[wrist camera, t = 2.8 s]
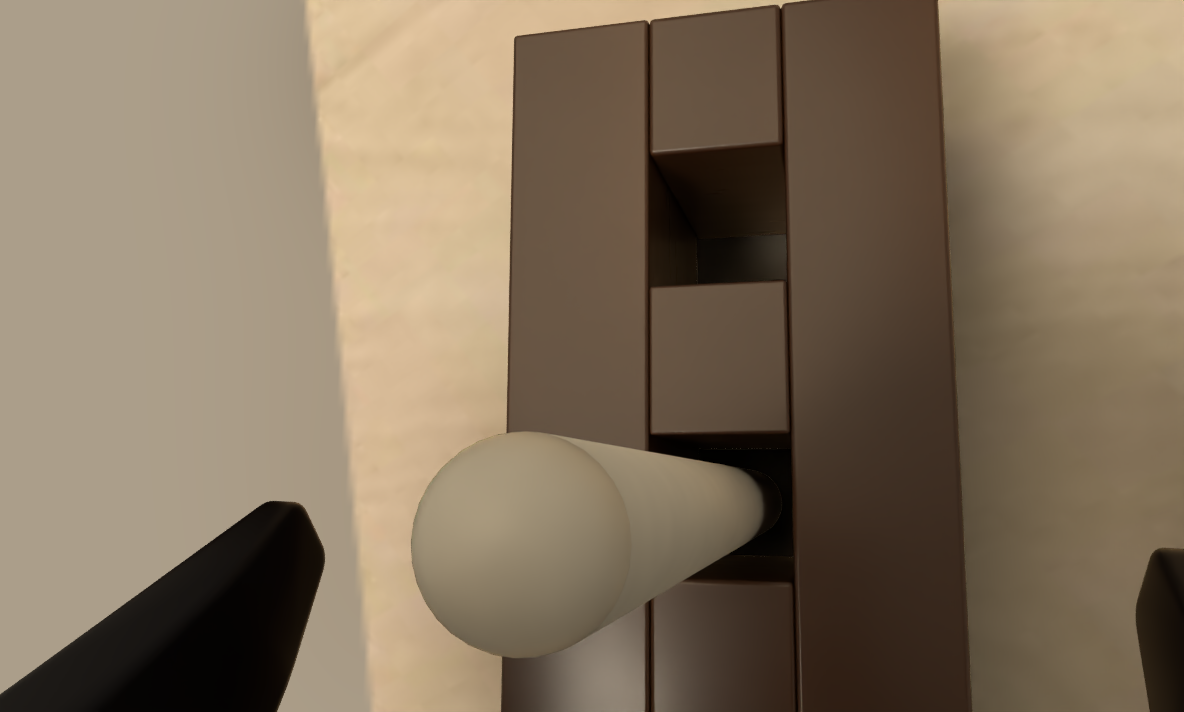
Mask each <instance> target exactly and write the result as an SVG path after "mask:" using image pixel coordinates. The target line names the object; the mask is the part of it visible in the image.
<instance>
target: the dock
mask: <svg viewBox="0 0 1184 712" xmlns="http://www.w3.org/2000/svg"><path fill="white" fill-rule="evenodd" d="M774 234H786V249H787V282H786V281H785V280H769V281H749V282H729V283H708V284H697V237H698V238H700V239H709V238H725V237H742V236H758V235H774ZM524 431H527V432H540V433H546V434H552V435H557V436H563V437H569V438H574V439H580V440H586V441H591V442H597V443H603V444H608V445H614V446H620V447H625V448H631V449H637V450H642V451H648V452H653V453H659V454H665V455H670V456H676V457H682V458H687V459H693V460H699V449H791V466H792V510H793V553H794V557H788V556H747V555H725V556H724V557H722V558H720V559H719V560H717V561H715V562H713V563H712V564H710V565H708V566H707V567H705V568H703V569H702V570H700V571H698V572H697V573H695V574H693V575H691V576H690V577H688V578H686V579H685V580H683V581H681V582H680V583H678V584H676V585H675V586H673V587H671V588H670V589H668V590H666V591H664V592H663V593H661V594H659V595H658V596H656V597H654V598H653V599H651V600H649V601H648V602H646V603H644V604H643V605H641V606H639V607H637V608H636V609H634V610H632V611H631V612H629V613H627V614H626V615H624V616H622V617H621V618H619V619H617V620H615V621H614V622H612V623H610V624H609V625H607V626H605V627H604V628H602V629H600V630H599V631H597V632H595V633H594V634H592V635H590V636H588V637H587V638H585V639H583V640H582V641H580V642H578V643H577V644H575V645H573V646H570V647H568V648H566V649H564V650H562V651H558V652H555V653H552V654H548V655H543V656H539V657H530V658H509V657H503V656H502V693H501V712H972V695H971V674H970V654H969V633H968V612H967V591H966V571H965V550H964V529H963V508H962V488H961V467H960V446H959V425H958V404H957V384H956V363H955V342H954V321H953V301H952V280H951V259H950V238H949V218H948V197H947V176H946V155H945V135H944V114H943V93H942V72H941V51H940V31H939V10H938V0H808V1H800V2H792V3H785V4H783V5H782V8H781V9H780V7H779V6H778V5H769V6H761V7H753V8H745V9H737V10H728V11H720V12H712V13H704V14H696V15H688V16H679V17H671V18H663V19H655V20H652V21H651V22H650V25H649V23H648V21H645V20H643V21H635V22H627V23H619V24H610V25H602V26H594V27H586V28H578V29H570V30H562V31H553V32H545V33H537V34H529V35H521V36H516V37H515V39H514V77H513V128H512V179H511V231H510V282H509V333H508V385H507V433H511V432H524Z"/></svg>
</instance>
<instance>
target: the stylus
mask: <svg viewBox="0 0 1184 712" xmlns="http://www.w3.org/2000/svg"><path fill="white" fill-rule="evenodd" d="M781 510H782V497H781V493H780V491H779V488H778V487H777V485H776V484H775V482H774V481H773V480H772V479H771V478H770V477H769V476H767V475H765V474H764V473H762V472H759V471H755V470H750V469H744V468H738V467H733V466H727V465H721V464H716V463H710V462H704V461H699V460H693V459H687V458H682V457H676V456H670V455H665V454H659V453H653V452H648V451H642V450H637V449H631V448H625V447H620V446H614V445H608V444H603V443H597V442H591V441H586V440H580V439H574V438H569V437H563V436H557V435H552V434H546V433H540V432H527V431H524V432H511V433H507V434H499V435H495V436H492V437H489V438H486V439H483V440H480V441H478V442H476V443H474V444H473V445H471V446H469V447H467V448H466V449H464V450H462V451H461V452H459V453H458V454H457V455H456V456H455V457H454V458H453V459H451V460H450V461H449V462H448V463H447V464H446V465H445V466H444V467H442V468H441V469H440V471H439V472H438V473H437V475H436V476H435V477H434V478H433V480H432V481H431V482H430V484H429V485H428V487H427V489H426V491H425V493H424V495H423V497H422V499H421V500H420V502H419V506H418V509H417V512H416V515H415V519H414V522H413V530H412V539H411V551H412V564H413V569H414V573H415V577H416V581H417V584H418V587H419V589H420V591H421V593H422V596H423V598H424V600H425V602H426V604H427V605H428V607H429V608H430V610H431V611H432V613H433V614H434V616H435V617H436V618H437V620H438V621H439V622H440V623H441V624H442V625H443V626H444V627H445V628H446V629H447V630H448V631H449V632H450V633H451V634H453V635H454V636H456V637H458V638H459V639H461V640H462V641H464V642H465V643H467V644H468V645H470V646H473V647H475V648H477V649H480V650H482V651H485V652H488V653H490V654H493V655H497V656H503V657H509V658H530V657H539V656H543V655H548V654H552V653H555V652H558V651H562V650H564V649H566V648H568V647H570V646H573V645H575V644H577V643H578V642H580V641H582V640H583V639H585V638H587V637H588V636H590V635H592V634H594V633H595V632H597V631H599V630H600V629H602V628H604V627H605V626H607V625H609V624H610V623H612V622H614V621H615V620H617V619H619V618H621V617H622V616H624V615H626V614H627V613H629V612H631V611H632V610H634V609H636V608H637V607H639V606H641V605H643V604H644V603H646V602H648V601H649V600H651V599H653V598H654V597H656V596H658V595H659V594H661V593H663V592H664V591H666V590H668V589H670V588H671V587H673V586H675V585H676V584H678V583H680V582H681V581H683V580H685V579H686V578H688V577H690V576H691V575H693V574H695V573H697V572H698V571H700V570H702V569H703V568H705V567H707V566H708V565H710V564H712V563H713V562H715V561H717V560H719V559H720V558H722V557H724V556H725V555H727V554H729V553H730V552H732V551H734V550H735V549H737V548H739V547H740V546H742V545H744V544H746V543H747V542H749V541H751V540H752V539H754V538H756V537H757V536H759V535H761V534H762V533H764V532H766V531H767V530H769V529H770V528H771V527H773V525H774V524H775V523H776V522H777V520H778V518H779V516H780V514H781Z"/></svg>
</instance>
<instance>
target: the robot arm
mask: <svg viewBox="0 0 1184 712" xmlns="http://www.w3.org/2000/svg"><path fill="white" fill-rule="evenodd" d="M324 564H325V553H324V548H323V545H322V543H321V541H320V539H319V537H318V534H317V532H316V530H315V528H314V526H313V524H312V522H311V520H310V518H309V516H308V513H307V512H306V510H305V508H304V507H303V506H302V505H300V504H299V503H296V502H282V501H270V502H266V503H264V504H262V505H261V506H259V507H258V508H256V509H255V510H254V511H252V512H251V513H249V514H248V515H247V516H245V517H244V518H242V519H241V520H240V521H238V522H237V523H236V524H234V525H233V526H231V528H229V529H227V530H226V531H225V532H223V533H222V534H220V535H219V536H218V537H216V538H215V539H214V540H213V541H211V542H210V543H208V544H207V545H205V546H204V547H203V548H201V549H200V550H198V551H197V552H196V553H194V554H193V555H192V556H190V557H189V558H188V559H186V560H185V561H183V562H182V563H181V564H179V565H178V566H176V567H175V568H174V569H172V570H171V571H170V572H168V573H167V574H165V575H164V576H163V577H161V578H160V579H159V580H157V581H156V582H154V583H153V584H152V585H150V586H149V587H148V588H146V589H145V590H144V591H142V592H141V593H139V594H138V595H137V596H135V597H134V598H132V599H131V600H130V601H128V602H127V603H126V604H124V605H123V606H121V607H120V608H119V609H117V610H116V611H114V612H113V613H112V614H111V615H109V616H108V617H106V618H105V619H104V620H102V621H101V622H99V623H98V624H97V625H95V626H94V627H92V628H91V629H90V630H88V631H87V632H86V633H84V634H83V635H81V636H80V637H79V638H77V639H76V640H75V641H73V642H72V643H70V644H69V645H68V646H66V647H65V648H64V649H62V650H61V651H59V652H58V653H57V654H55V655H54V656H53V657H51V658H50V659H48V660H47V661H46V662H44V663H43V664H42V665H40V666H39V667H37V668H36V669H35V670H33V671H32V672H31V673H29V674H28V675H27V676H25V677H24V678H22V679H21V680H19V681H18V682H17V683H15V684H14V685H13V686H11V687H10V688H8V689H7V690H6V691H4V692H3V693H1V694H0V712H277V710H278V708H279V705H280V703H281V700H282V698H283V695H284V693H285V690H286V687H287V685H288V682H289V679H290V676H291V673H292V670H293V667H294V664H295V661H296V658H297V655H298V651H299V648H300V645H301V641H302V638H303V635H304V632H305V628H306V625H307V622H308V619H309V615H310V612H311V609H312V606H313V602H314V599H315V596H316V592H317V589H318V586H319V582H320V579H321V576H322V573H323V569H324ZM1136 628H1137V634H1138V640H1139V647H1140V653H1141V659H1142V665H1143V672H1144V678H1145V684H1146V690H1147V696H1148V703H1149V709H1150V712H1184V549H1175V548H1159V549H1157V550H1155V551H1154V552H1153V553H1152V555H1151V557H1150V560H1149V563H1148V566H1147V570H1146V573H1145V576H1144V580H1143V583H1142V587H1141V590H1140V593H1139V597H1138V600H1137V604H1136Z"/></svg>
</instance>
